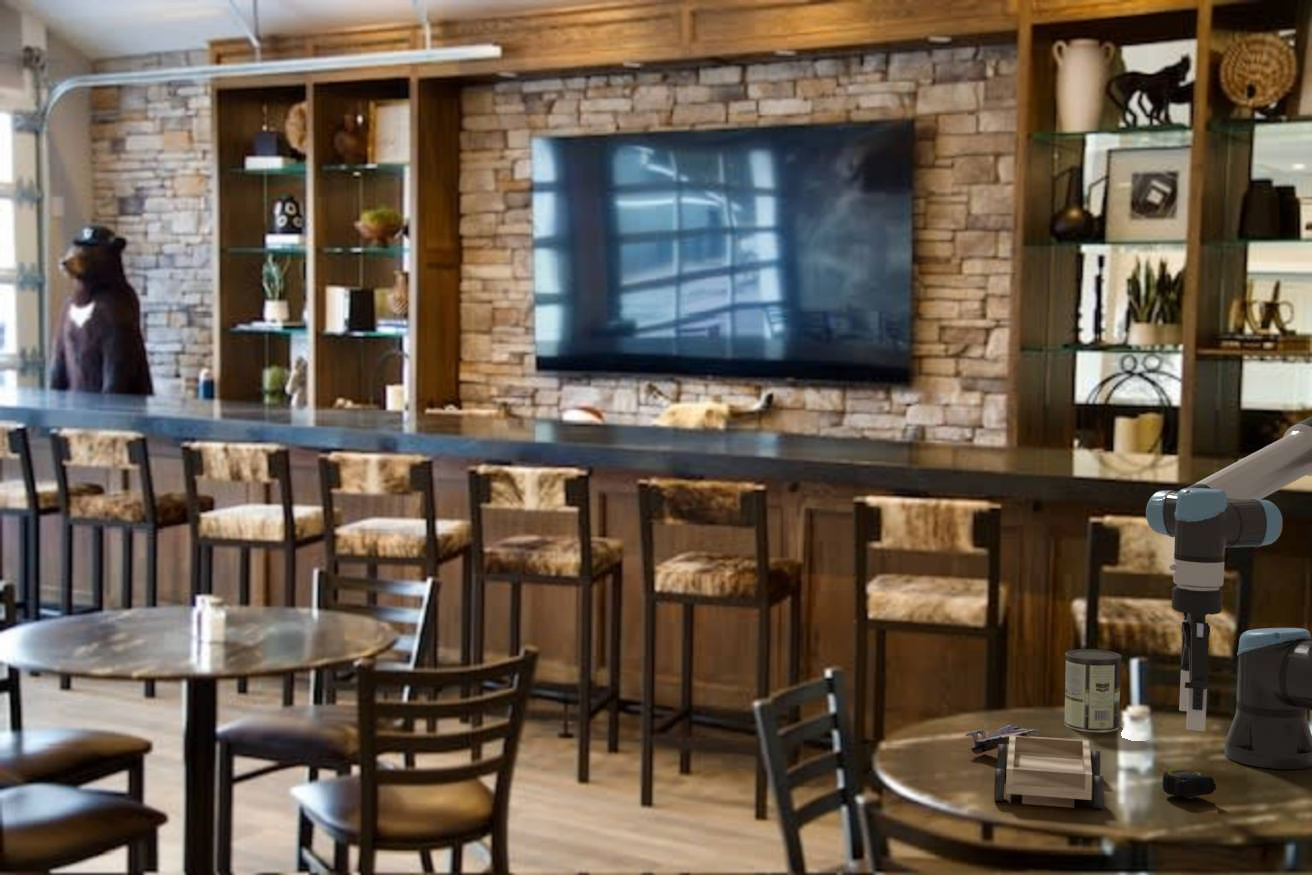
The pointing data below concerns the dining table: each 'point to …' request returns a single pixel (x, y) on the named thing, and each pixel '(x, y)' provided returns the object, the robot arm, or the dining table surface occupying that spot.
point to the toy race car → (997, 738)
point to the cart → (1049, 771)
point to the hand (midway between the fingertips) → (1191, 720)
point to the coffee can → (1092, 690)
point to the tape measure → (1187, 783)
